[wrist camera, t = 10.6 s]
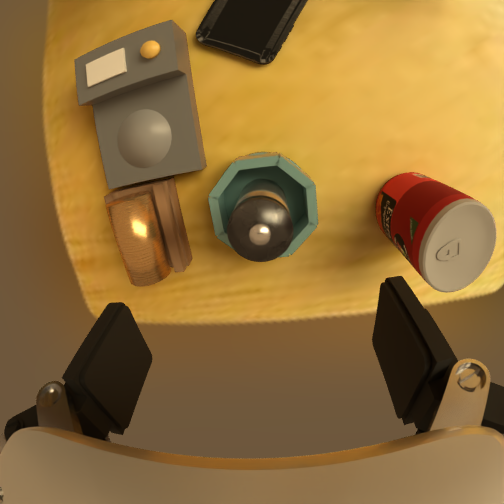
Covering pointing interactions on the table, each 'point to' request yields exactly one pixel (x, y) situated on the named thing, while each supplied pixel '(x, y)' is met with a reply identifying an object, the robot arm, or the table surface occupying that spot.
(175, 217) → the walnut trough
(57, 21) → the table surface
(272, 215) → the grey cell
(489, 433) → the robot arm
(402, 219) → the canned food
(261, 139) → the table surface
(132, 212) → the copper cell
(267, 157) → the teal cup
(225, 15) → the phone
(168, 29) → the checker
